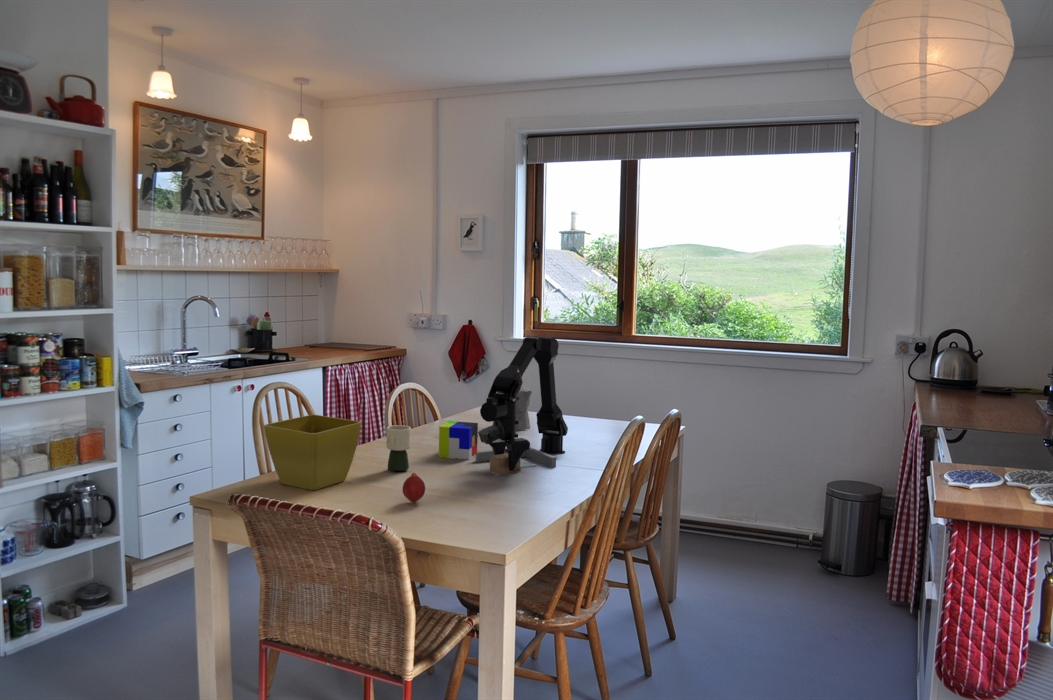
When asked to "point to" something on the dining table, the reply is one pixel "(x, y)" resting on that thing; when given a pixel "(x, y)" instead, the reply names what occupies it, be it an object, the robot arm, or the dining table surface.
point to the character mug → (398, 446)
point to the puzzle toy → (458, 439)
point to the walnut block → (502, 464)
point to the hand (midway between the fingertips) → (505, 468)
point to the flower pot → (312, 449)
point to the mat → (525, 464)
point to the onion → (413, 488)
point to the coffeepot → (523, 408)
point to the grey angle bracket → (529, 453)
